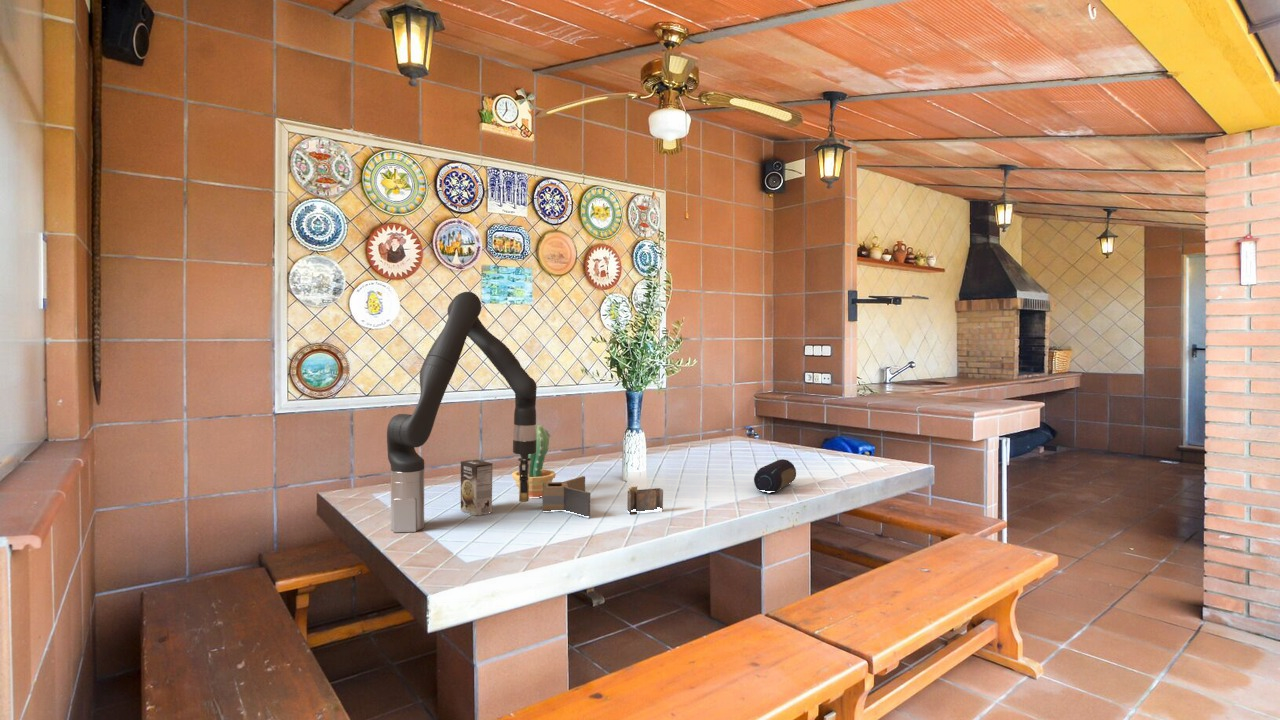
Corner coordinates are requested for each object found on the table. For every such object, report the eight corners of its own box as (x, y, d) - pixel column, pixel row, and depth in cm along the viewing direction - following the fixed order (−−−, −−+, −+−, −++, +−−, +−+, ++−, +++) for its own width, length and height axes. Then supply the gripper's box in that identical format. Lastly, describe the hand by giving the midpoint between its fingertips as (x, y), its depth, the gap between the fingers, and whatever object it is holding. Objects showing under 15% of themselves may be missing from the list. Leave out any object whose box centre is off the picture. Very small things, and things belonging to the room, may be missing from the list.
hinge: (590, 518, 205) (590, 493, 205) (542, 520, 203) (542, 494, 202) (584, 498, 230) (585, 476, 229) (542, 499, 227) (542, 476, 227)
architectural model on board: (630, 516, 209) (631, 486, 209) (627, 514, 212) (627, 484, 212) (663, 513, 214) (663, 483, 213) (659, 511, 216) (660, 481, 216)
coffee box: (459, 511, 212) (459, 461, 211) (476, 507, 216) (477, 458, 216) (475, 516, 205) (475, 465, 205) (492, 512, 210) (493, 462, 210)
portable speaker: (777, 497, 236) (777, 469, 235) (750, 493, 241) (751, 466, 241) (798, 484, 257) (799, 459, 257) (774, 481, 262) (774, 456, 262)
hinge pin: (529, 502, 212) (529, 469, 212) (518, 502, 211) (518, 469, 211) (529, 499, 215) (530, 467, 215) (518, 499, 215) (519, 467, 215)
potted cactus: (563, 497, 231) (563, 426, 230) (522, 503, 223) (523, 429, 222) (543, 488, 244) (544, 421, 243) (504, 493, 235) (504, 424, 235)
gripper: (514, 435, 219) (513, 486, 220) (511, 441, 205) (511, 496, 206) (536, 435, 220) (536, 486, 221) (536, 441, 206) (535, 496, 207)
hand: (524, 491), depth 213 cm, fingers closed on hinge pin, 3 cm apart
